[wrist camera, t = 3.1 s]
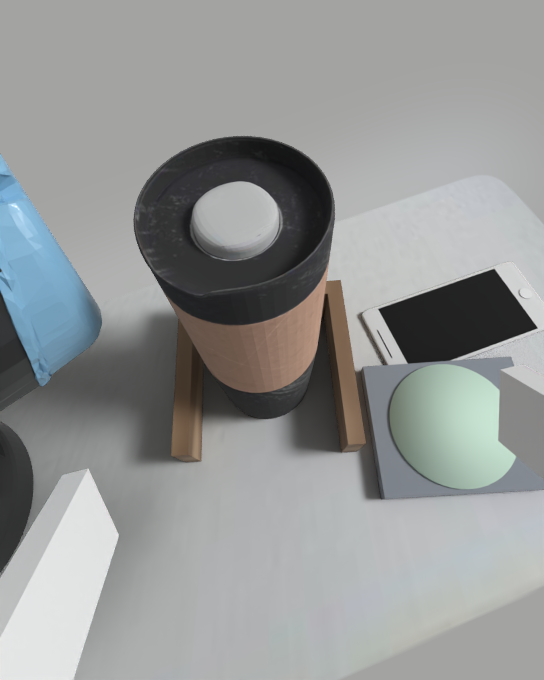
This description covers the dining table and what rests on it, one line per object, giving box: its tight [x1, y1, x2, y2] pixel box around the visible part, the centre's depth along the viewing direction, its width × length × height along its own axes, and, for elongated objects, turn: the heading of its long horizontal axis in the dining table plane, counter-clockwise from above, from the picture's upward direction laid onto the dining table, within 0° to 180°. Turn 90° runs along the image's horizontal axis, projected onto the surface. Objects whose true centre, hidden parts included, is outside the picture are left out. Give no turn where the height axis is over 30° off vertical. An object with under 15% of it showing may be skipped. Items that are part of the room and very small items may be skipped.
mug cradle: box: [171, 280, 366, 462], centre depth 30 cm, size 13×13×4 cm
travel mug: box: [134, 136, 335, 419], centre depth 23 cm, size 8×8×20 cm
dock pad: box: [361, 357, 544, 499], centre depth 29 cm, size 12×10×1 cm
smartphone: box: [362, 262, 544, 365], centre depth 33 cm, size 7×16×1 cm, turn 109°
